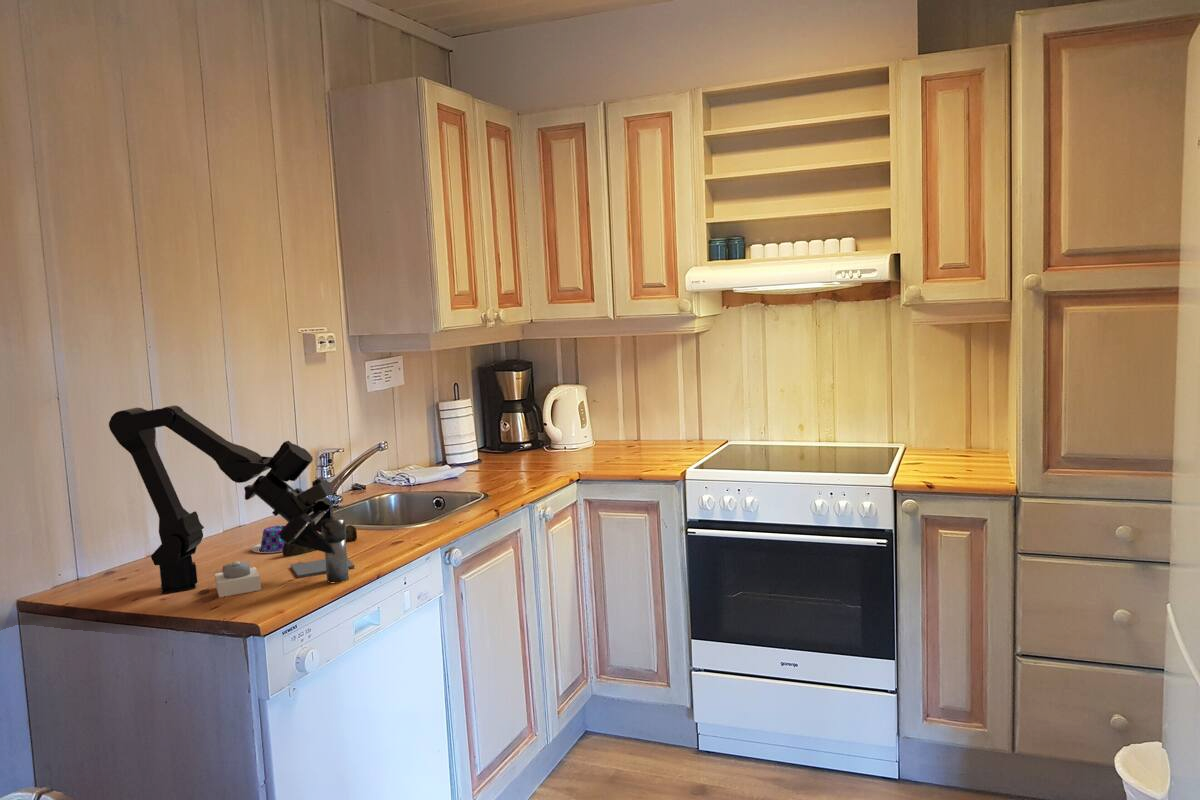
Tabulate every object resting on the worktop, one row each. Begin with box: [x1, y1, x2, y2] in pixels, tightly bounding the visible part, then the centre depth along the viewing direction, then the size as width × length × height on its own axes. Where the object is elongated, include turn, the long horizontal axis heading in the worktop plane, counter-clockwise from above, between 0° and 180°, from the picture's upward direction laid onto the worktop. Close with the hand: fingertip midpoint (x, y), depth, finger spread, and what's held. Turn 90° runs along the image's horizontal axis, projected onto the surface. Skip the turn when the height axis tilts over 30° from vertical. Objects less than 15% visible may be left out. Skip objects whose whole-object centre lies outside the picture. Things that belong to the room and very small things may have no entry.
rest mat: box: [290, 557, 355, 579], centre depth 199 cm, size 12×10×1 cm
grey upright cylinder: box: [321, 516, 350, 583], centre depth 188 cm, size 5×5×13 cm
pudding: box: [251, 525, 286, 554], centre depth 219 cm, size 12×12×5 cm
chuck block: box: [214, 561, 262, 598], centre depth 186 cm, size 8×8×6 cm
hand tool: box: [282, 524, 358, 557], centre depth 217 cm, size 19×4×5 cm, turn 135°
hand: (338, 545), depth 188 cm, fingers open, 9 cm apart
